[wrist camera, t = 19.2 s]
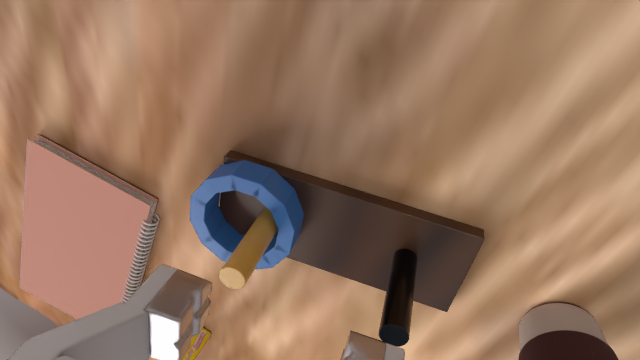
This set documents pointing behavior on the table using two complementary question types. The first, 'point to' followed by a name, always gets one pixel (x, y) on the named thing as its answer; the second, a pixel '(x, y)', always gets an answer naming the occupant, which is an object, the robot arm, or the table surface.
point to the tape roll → (254, 183)
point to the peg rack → (358, 244)
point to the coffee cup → (562, 335)
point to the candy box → (197, 344)
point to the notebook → (81, 231)
